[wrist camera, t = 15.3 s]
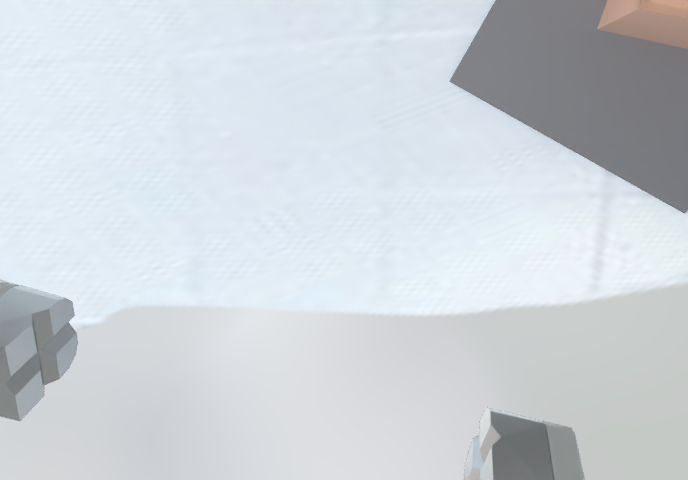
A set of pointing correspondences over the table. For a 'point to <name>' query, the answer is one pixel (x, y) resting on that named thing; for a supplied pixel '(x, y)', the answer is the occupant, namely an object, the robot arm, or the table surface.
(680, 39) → the light orange rectangular block
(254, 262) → the table surface
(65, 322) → the robot arm
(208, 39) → the table surface
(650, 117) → the mat
